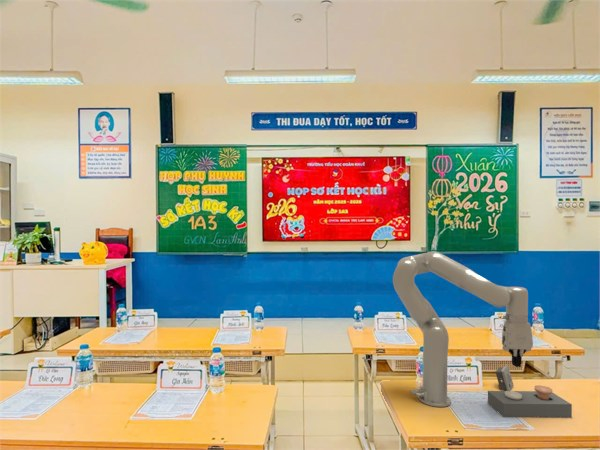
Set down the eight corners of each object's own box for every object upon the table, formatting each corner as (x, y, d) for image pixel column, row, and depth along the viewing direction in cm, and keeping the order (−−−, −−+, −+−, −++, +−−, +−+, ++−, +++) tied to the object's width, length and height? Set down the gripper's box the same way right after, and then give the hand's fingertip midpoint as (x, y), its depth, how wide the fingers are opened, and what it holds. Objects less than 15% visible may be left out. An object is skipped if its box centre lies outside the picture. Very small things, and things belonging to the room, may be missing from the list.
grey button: (509, 410, 152) (509, 397, 152) (501, 403, 158) (501, 390, 158) (525, 410, 152) (525, 397, 152) (516, 403, 158) (516, 390, 158)
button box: (503, 417, 149) (503, 403, 149) (487, 403, 161) (487, 390, 161) (571, 417, 149) (571, 404, 149) (550, 403, 161) (550, 391, 161)
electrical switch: (509, 392, 172) (507, 370, 173) (496, 390, 175) (494, 369, 176) (513, 386, 179) (512, 365, 180) (501, 384, 182) (499, 364, 183)
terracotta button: (540, 404, 152) (540, 391, 152) (531, 397, 158) (531, 385, 158) (555, 404, 152) (556, 391, 152) (545, 398, 158) (545, 385, 158)
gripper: (503, 320, 151) (502, 369, 151) (541, 321, 152) (541, 369, 151) (493, 316, 159) (492, 362, 159) (529, 316, 159) (529, 362, 159)
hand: (516, 365), depth 155 cm, fingers closed
